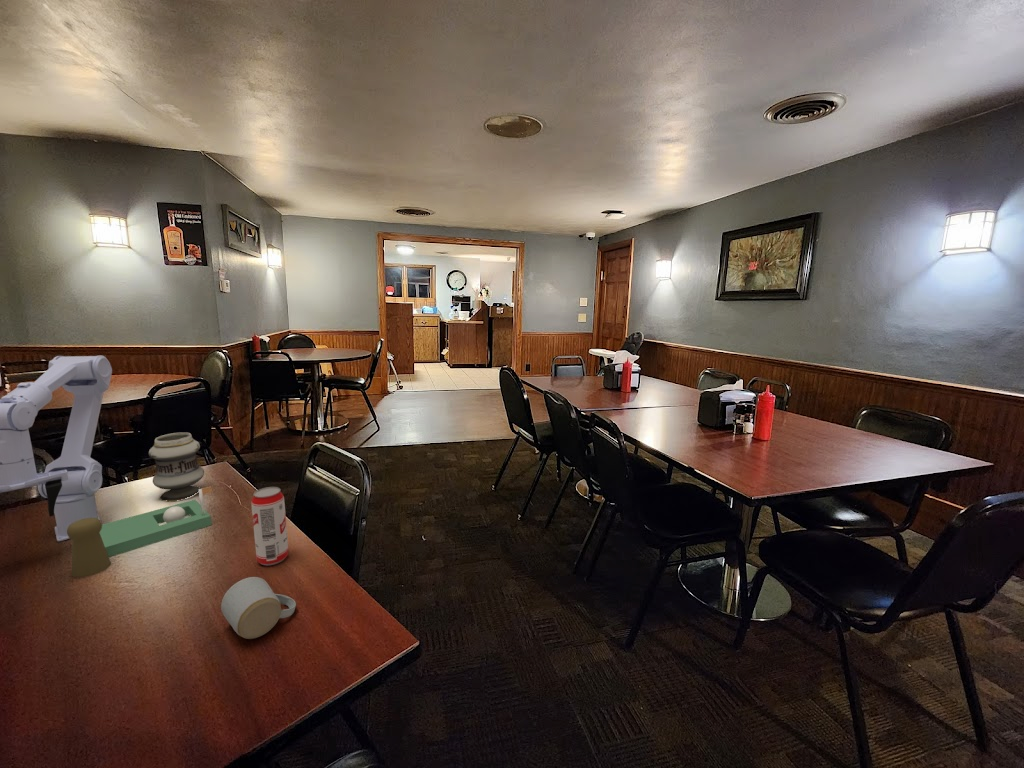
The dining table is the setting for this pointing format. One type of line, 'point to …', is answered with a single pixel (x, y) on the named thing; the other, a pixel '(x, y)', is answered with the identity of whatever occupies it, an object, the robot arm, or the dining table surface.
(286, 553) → the beer can
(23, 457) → the robot arm
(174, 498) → the apothecary jar
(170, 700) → the dining table surface
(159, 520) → the green
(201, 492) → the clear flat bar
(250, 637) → the ceramic mug
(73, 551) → the cork
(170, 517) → the egg
